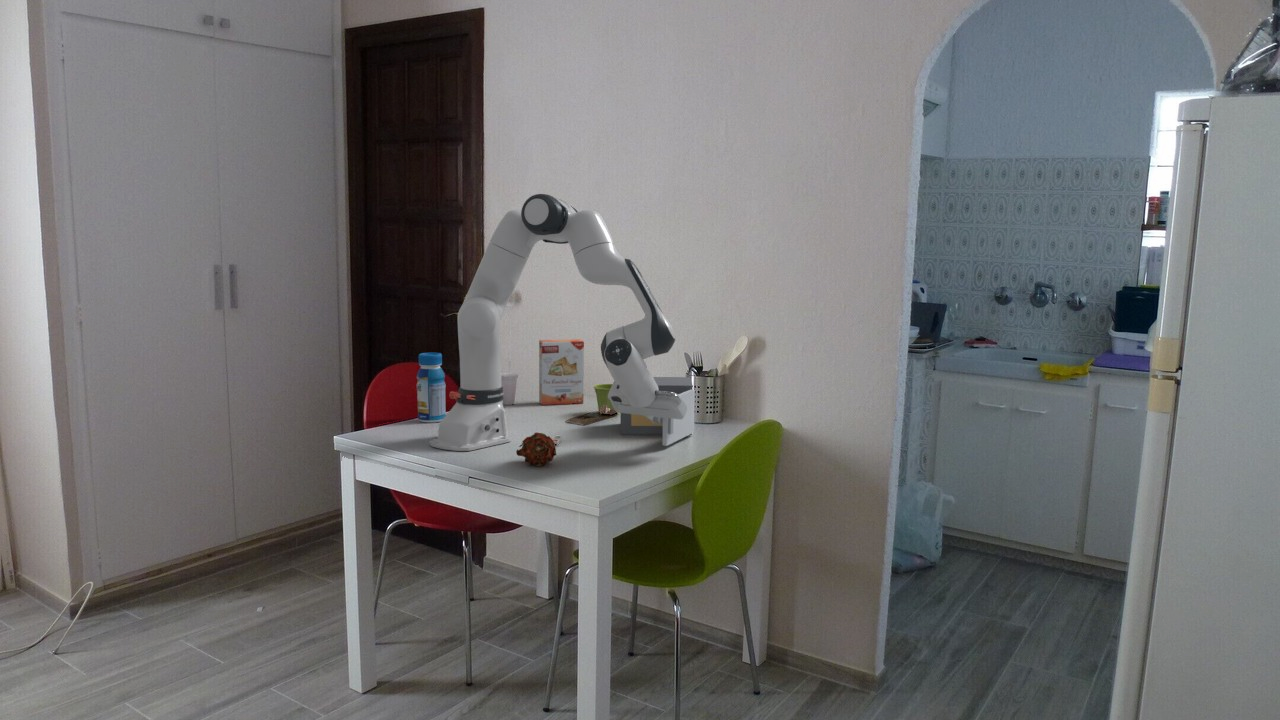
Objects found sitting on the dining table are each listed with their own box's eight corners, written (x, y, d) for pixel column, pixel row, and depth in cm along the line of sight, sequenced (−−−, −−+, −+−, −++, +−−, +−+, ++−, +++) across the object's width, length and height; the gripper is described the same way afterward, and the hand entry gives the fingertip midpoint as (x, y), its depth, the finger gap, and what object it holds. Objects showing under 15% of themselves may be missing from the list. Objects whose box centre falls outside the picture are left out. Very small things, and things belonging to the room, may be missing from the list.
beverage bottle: (443, 423, 271) (441, 356, 268) (414, 423, 271) (412, 355, 268) (449, 417, 280) (447, 351, 277) (421, 417, 280) (419, 351, 277)
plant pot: (591, 411, 290) (591, 384, 289) (620, 410, 292) (621, 383, 291) (595, 417, 281) (595, 389, 280) (626, 416, 283) (626, 388, 282)
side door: (696, 432, 257) (697, 390, 255) (669, 446, 241) (669, 401, 239) (690, 431, 258) (690, 389, 256) (662, 445, 242) (662, 400, 240)
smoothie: (517, 405, 298) (517, 362, 296) (497, 405, 298) (497, 362, 296) (519, 401, 304) (518, 359, 302) (499, 401, 304) (499, 359, 302)
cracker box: (541, 405, 298) (541, 341, 295) (538, 402, 304) (538, 339, 300) (584, 404, 302) (584, 340, 298) (580, 400, 307) (580, 338, 304)
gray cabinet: (691, 435, 258) (692, 382, 256) (620, 434, 258) (620, 381, 256) (689, 423, 272) (690, 373, 270) (621, 423, 273) (621, 373, 270)
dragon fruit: (546, 477, 221) (526, 472, 231) (570, 452, 224) (549, 449, 235) (525, 451, 218) (505, 447, 228) (550, 426, 222) (529, 424, 232)
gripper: (680, 383, 230) (697, 415, 240) (611, 377, 240) (629, 408, 250) (672, 403, 227) (689, 435, 237) (601, 396, 237) (621, 427, 247)
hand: (658, 421), depth 244 cm, fingers closed
